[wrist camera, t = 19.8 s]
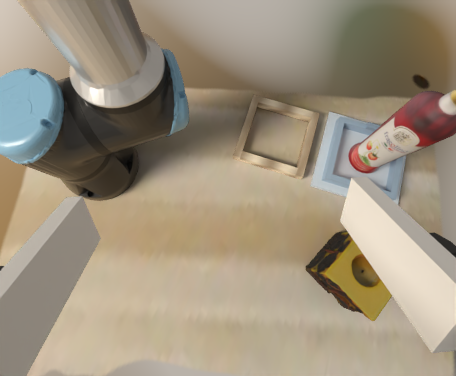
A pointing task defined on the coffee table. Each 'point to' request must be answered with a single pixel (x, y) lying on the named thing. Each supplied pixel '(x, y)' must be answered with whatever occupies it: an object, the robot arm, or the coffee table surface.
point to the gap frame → (288, 111)
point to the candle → (349, 276)
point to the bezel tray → (340, 165)
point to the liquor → (407, 131)
